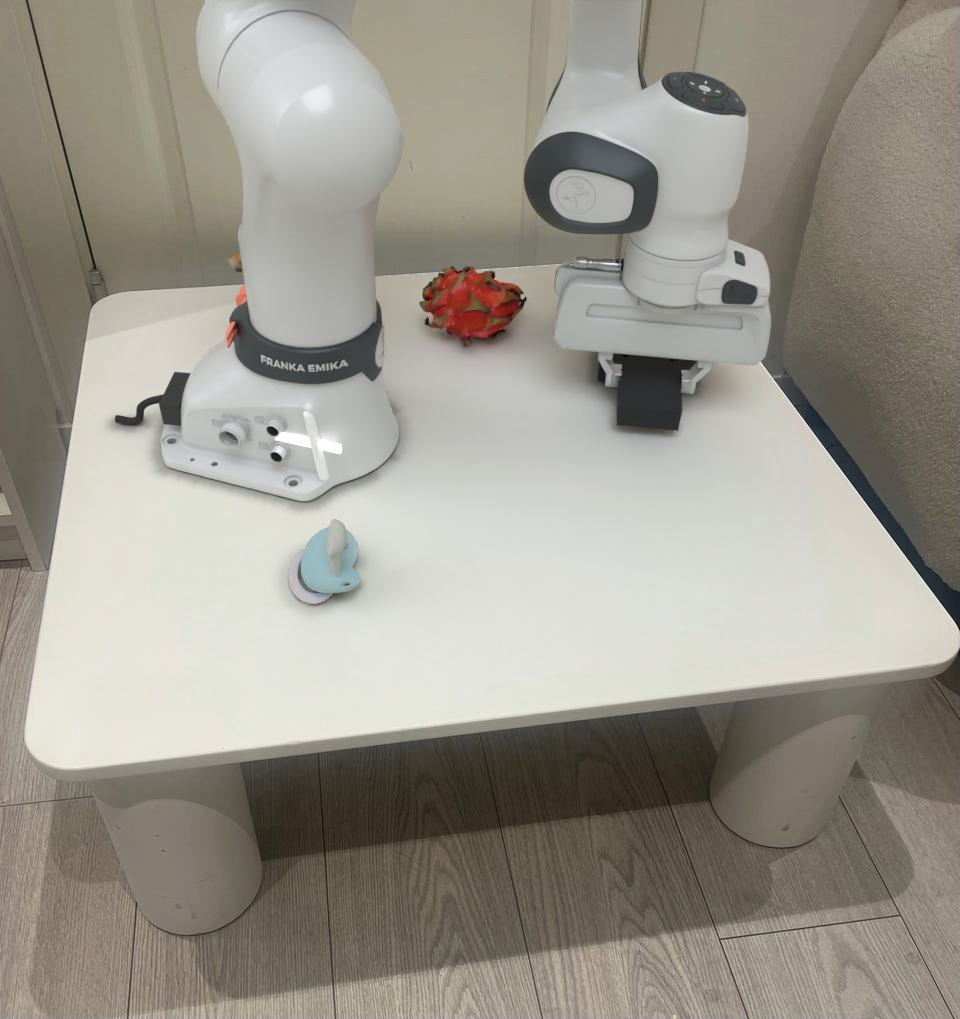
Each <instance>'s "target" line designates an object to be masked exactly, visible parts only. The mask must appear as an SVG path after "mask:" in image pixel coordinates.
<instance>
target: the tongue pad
mask: <svg viewBox="0 0 960 1019" xmlns="http://www.w3.org/2000/svg"><path fill="white" fill-rule="evenodd" d="M619 364H622V377H621V381H620V385H619V387H616V422H615V423H616V424H615V425H616V426H621V427H631V428H642V429H652V430H663V431H673V432H678V431H679V428H680V423H681V418H682V414H683V402H682V400H683V399H682V393H681V382H680V363H679V362H671V361H670V359H669V358H661V357H650V356H638V355H627V357H620V363H619Z"/></svg>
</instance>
